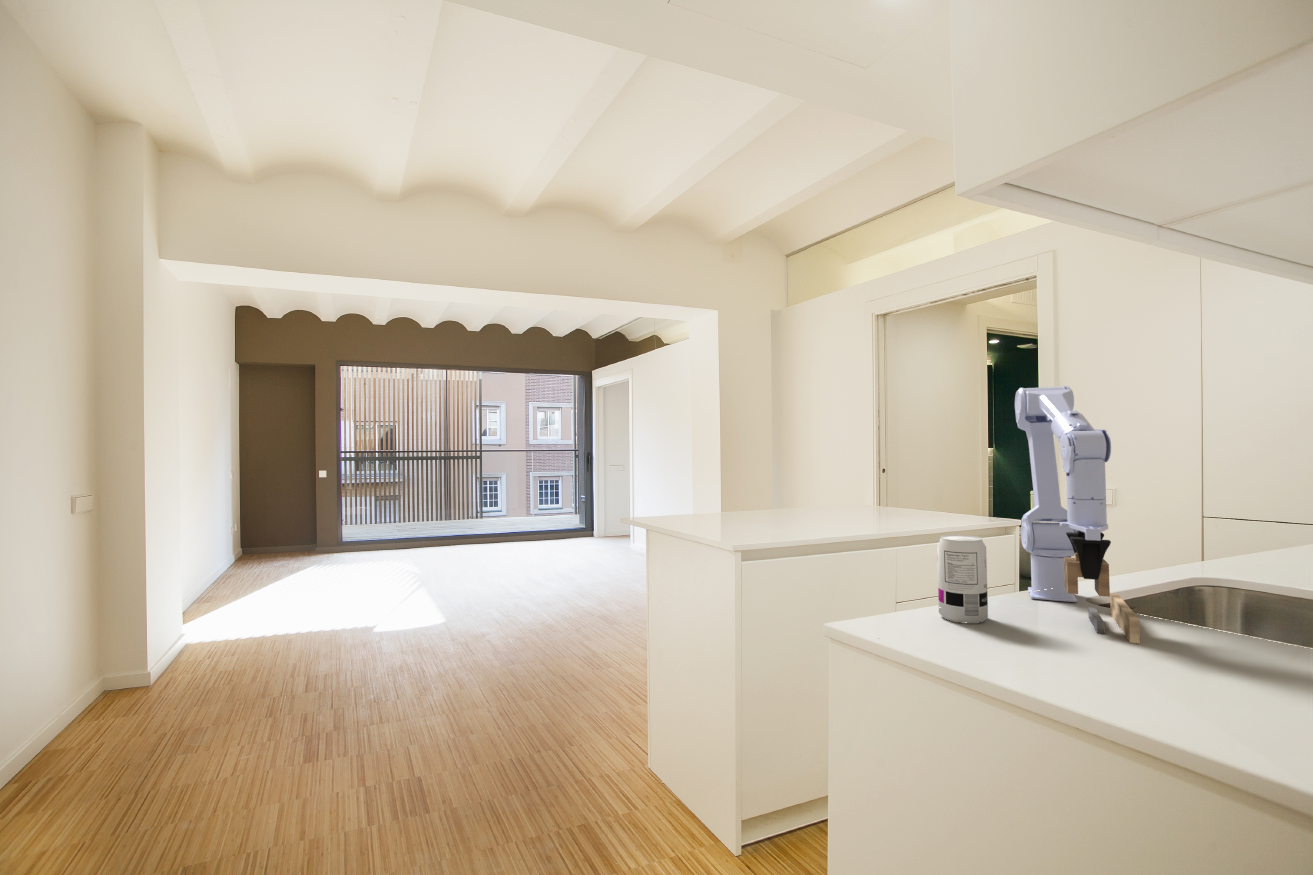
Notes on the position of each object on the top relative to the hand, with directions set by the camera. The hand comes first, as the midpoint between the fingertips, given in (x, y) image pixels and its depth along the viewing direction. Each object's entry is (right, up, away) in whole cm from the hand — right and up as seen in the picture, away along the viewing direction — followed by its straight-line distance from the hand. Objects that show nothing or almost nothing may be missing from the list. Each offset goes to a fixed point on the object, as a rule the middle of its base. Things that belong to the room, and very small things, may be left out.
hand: (1088, 575), depth 110 cm
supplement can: (-19, -10, +7) cm, 22 cm away
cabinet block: (0, -3, 0) cm, 3 cm away
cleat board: (+3, -9, -1) cm, 9 cm away
